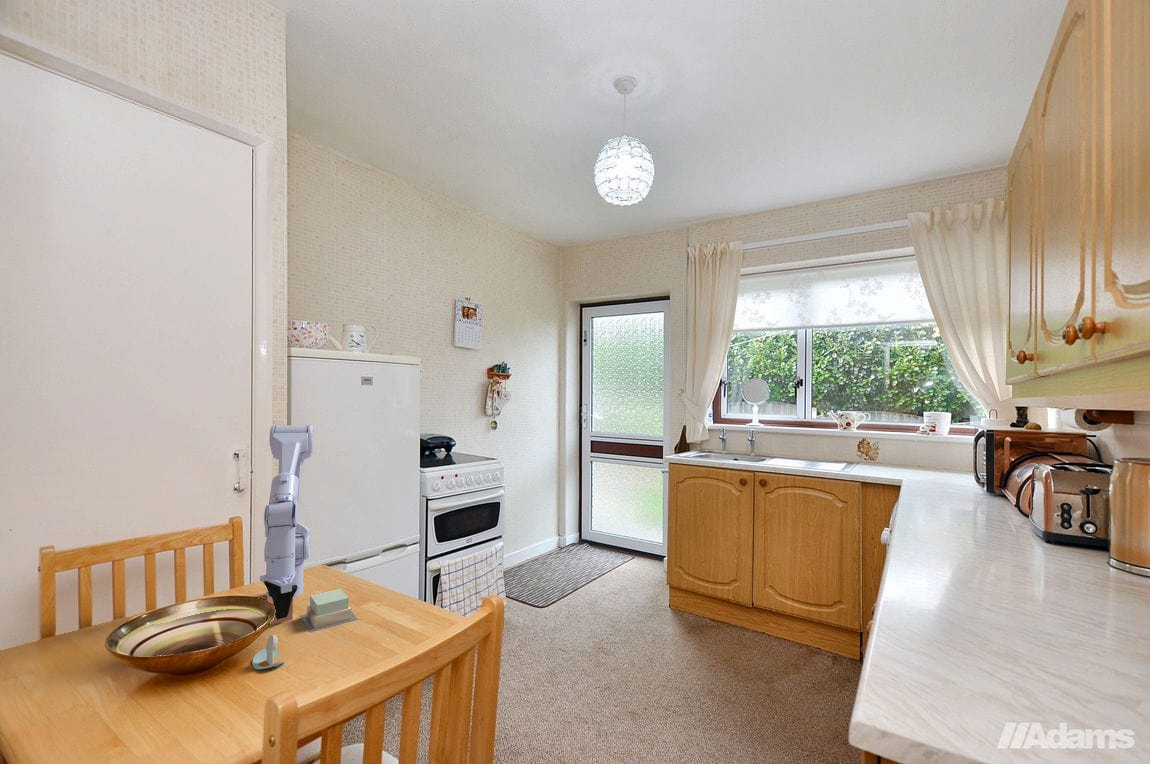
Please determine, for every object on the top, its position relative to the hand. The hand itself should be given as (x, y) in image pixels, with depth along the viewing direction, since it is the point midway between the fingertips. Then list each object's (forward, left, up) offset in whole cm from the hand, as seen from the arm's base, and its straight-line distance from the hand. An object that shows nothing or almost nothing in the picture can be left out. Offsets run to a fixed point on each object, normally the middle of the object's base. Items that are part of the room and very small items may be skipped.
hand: (279, 613), depth 117 cm
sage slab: (+6, +9, +1) cm, 11 cm away
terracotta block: (0, 0, -1) cm, 1 cm away
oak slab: (+6, +9, -1) cm, 11 cm away
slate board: (+6, +9, -2) cm, 11 cm away
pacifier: (+19, -6, -3) cm, 20 cm away
